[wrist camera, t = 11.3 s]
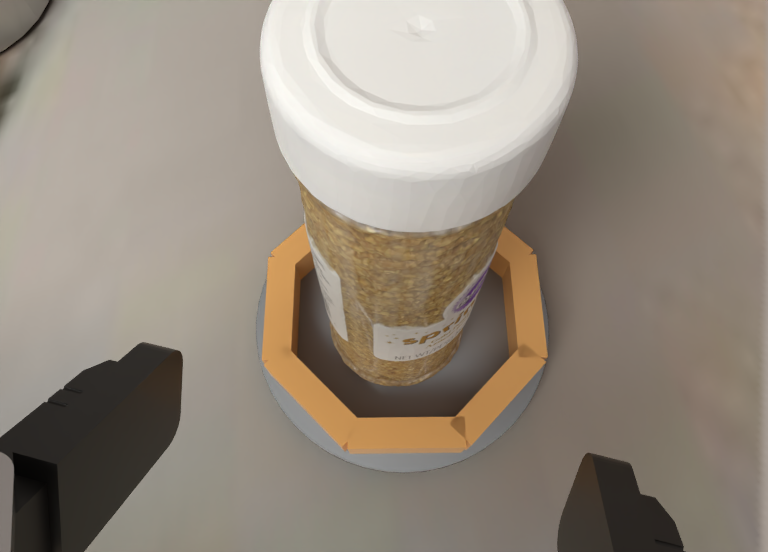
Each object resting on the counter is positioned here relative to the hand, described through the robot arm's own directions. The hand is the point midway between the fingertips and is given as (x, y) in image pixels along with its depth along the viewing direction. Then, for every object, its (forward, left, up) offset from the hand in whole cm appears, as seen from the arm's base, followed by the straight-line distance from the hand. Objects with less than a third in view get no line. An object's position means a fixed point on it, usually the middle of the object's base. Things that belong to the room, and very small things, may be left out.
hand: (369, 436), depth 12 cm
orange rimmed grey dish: (-3, +4, -8) cm, 10 cm away
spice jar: (-3, +4, -8) cm, 9 cm away
